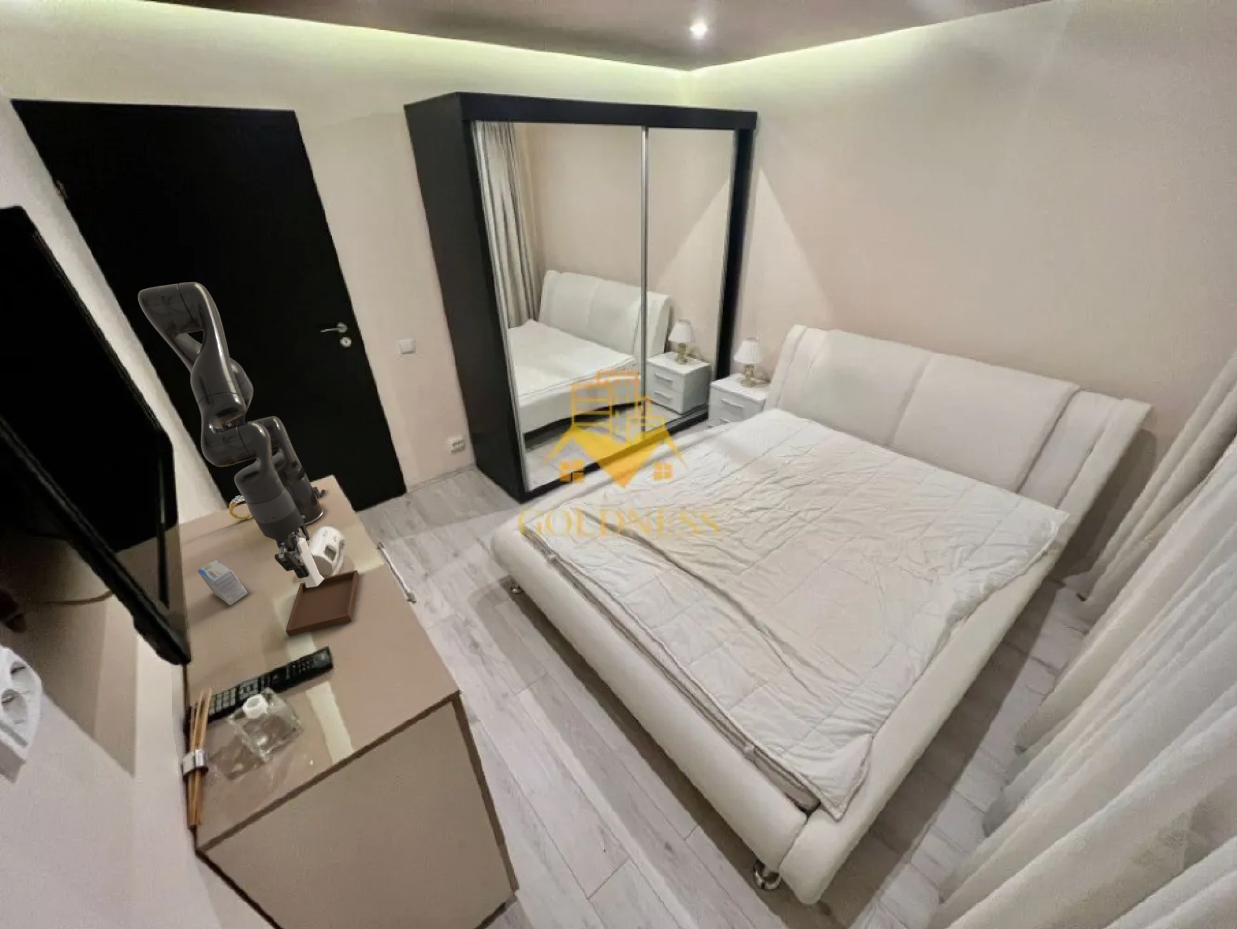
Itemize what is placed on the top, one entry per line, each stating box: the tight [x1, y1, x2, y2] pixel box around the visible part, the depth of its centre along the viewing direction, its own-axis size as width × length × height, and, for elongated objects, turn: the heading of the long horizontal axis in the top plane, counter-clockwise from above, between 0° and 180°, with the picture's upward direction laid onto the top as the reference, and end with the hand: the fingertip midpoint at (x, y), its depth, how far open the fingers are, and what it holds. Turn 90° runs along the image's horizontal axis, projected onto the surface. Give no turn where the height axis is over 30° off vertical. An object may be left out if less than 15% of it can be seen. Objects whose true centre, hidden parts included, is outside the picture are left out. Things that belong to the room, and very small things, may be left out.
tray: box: [284, 569, 360, 638], centre depth 116 cm, size 15×13×2 cm
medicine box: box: [197, 559, 249, 606], centre depth 118 cm, size 8×4×9 cm, turn 59°
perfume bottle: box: [290, 532, 325, 588], centre depth 108 cm, size 5×4×15 cm
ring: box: [228, 494, 253, 520], centre depth 144 cm, size 7×3×8 cm, turn 125°
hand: (306, 568), depth 110 cm, fingers closed on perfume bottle, 4 cm apart
